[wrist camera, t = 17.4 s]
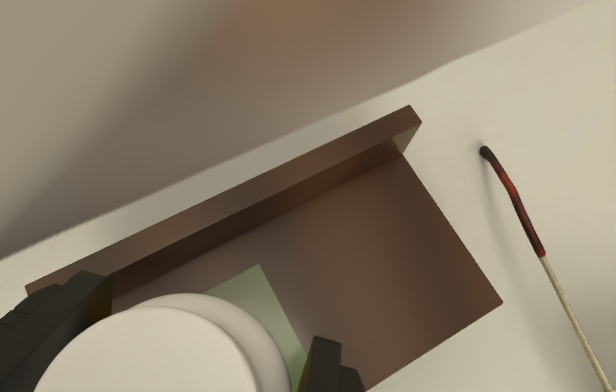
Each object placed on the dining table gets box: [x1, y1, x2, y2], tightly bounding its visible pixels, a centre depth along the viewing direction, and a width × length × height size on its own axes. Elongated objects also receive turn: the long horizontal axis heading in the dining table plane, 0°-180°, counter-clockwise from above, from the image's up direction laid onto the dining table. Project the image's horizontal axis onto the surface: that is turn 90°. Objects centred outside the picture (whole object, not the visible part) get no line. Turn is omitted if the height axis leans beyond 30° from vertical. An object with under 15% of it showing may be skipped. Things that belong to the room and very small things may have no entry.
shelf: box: [25, 105, 503, 392], centre depth 19 cm, size 16×10×8 cm, turn 119°
